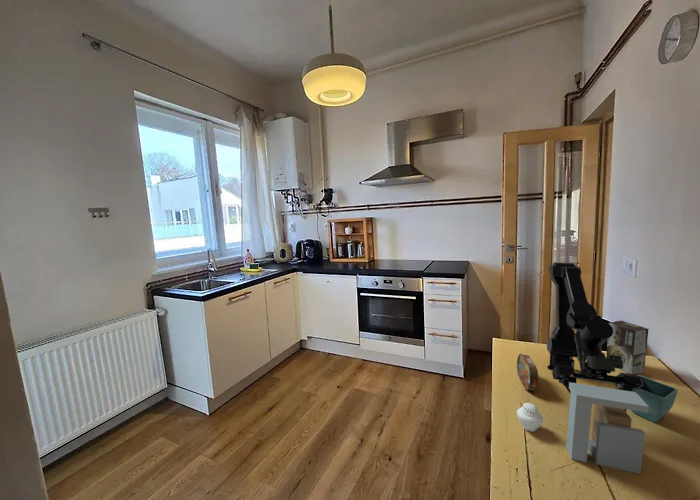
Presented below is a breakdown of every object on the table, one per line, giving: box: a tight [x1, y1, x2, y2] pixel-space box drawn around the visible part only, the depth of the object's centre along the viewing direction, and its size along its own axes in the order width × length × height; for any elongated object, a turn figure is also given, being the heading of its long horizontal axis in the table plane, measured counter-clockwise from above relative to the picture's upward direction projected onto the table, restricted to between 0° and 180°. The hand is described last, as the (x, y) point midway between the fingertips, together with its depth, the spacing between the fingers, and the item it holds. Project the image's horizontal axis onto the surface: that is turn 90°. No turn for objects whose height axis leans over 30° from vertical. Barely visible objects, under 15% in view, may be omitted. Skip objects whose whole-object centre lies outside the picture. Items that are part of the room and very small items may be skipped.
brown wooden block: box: [591, 404, 632, 442], centre depth 74 cm, size 8×4×12 cm, turn 159°
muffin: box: [516, 402, 544, 433], centre depth 83 cm, size 6×6×7 cm
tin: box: [516, 353, 539, 392], centre depth 104 cm, size 15×3×8 cm, turn 164°
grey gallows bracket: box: [565, 382, 649, 475], centre depth 72 cm, size 6×13×16 cm, turn 69°
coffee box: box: [605, 320, 650, 375], centre depth 112 cm, size 9×6×16 cm
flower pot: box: [630, 374, 679, 423], centre depth 87 cm, size 9×9×9 cm
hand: (601, 411), depth 79 cm, fingers open, 9 cm apart
